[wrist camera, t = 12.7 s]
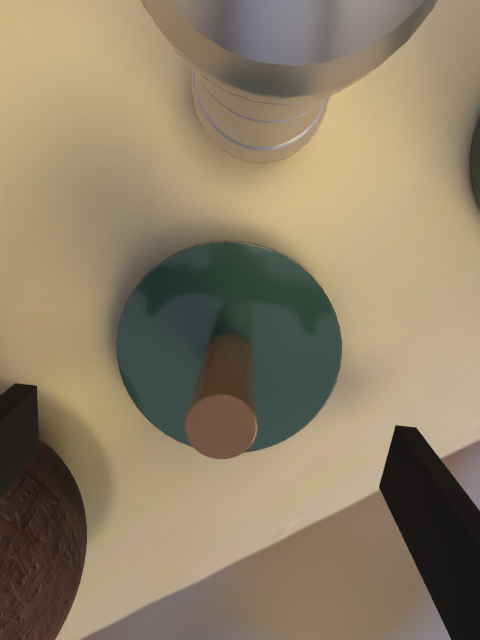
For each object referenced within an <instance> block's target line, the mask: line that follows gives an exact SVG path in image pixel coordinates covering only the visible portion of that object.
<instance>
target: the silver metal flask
mask: <svg viewBox="0 0 480 640" xmlns="http://www.w3.org/2000/svg"><path fill="white" fill-rule="evenodd" d="M141 2H142V4H143V6H144V8H145V9H146V10H147V12H148V13H149V15H150V16H151V18H152V19H153V21H154V23H155V24H156V26H157V27H158V28H159V30H160V31H161V32H162V34H163V35H164V36H165V38H166V39H167V40H168V42H169V43H170V45H171V46H172V47H173V49H174V50H175V51H176V53H177V54H178V55H179V56H181V57H182V58H183V59H184V60H185V61H186V62H187V63H188V64H189V65H190V66H191V89H192V96H193V103H194V106H195V109H196V112H197V116H198V118H199V120H200V122H201V124H202V126H203V128H204V130H205V131H206V132H207V134H208V135H209V136H210V138H211V139H212V140H213V141H214V142H215V143H216V144H217V145H218V146H219V147H220V148H221V149H222V150H224V151H225V152H227V153H229V154H230V155H232V156H234V157H235V158H238V159H241V160H244V161H247V162H253V163H269V162H275V161H278V160H282V159H285V158H287V157H289V156H290V155H292V154H294V153H296V152H297V151H299V150H300V149H301V148H302V147H303V146H304V145H305V144H306V143H308V142H309V140H310V139H311V138H312V136H313V135H314V134H315V132H316V131H317V129H318V127H319V125H320V123H321V121H322V119H323V117H324V114H325V111H326V108H327V105H328V101H329V98H330V96H331V95H333V94H335V93H338V92H340V91H342V90H343V89H345V88H347V87H348V86H350V85H352V84H353V83H355V82H357V81H359V80H360V79H362V78H364V77H365V76H367V75H368V74H369V73H370V72H372V71H373V70H374V69H376V68H377V67H378V66H380V65H381V64H382V63H383V62H384V61H386V60H387V59H388V58H389V57H390V56H391V55H392V54H393V53H395V52H396V51H397V50H398V49H399V48H400V47H401V46H402V45H403V44H405V43H406V42H407V41H408V40H409V39H410V37H411V36H412V35H413V34H414V32H415V31H416V30H417V28H418V27H419V26H420V25H421V23H422V22H423V21H424V19H425V18H426V17H427V16H428V14H429V13H430V12H431V11H432V9H433V8H434V6H435V4H436V2H437V0H141Z"/></svg>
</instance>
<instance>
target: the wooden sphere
mask: <svg viewBox="0 0 480 640" xmlns="http://www.w3.org/2000/svg"><path fill="white" fill-rule="evenodd" d="M86 544H87V526H86V516H85V510H84V505H83V501H82V497H81V494H80V491H79V489H78V486H77V484H76V482H75V479H74V477H73V476H72V474H71V472H70V470H69V469H68V467H67V466H66V464H65V463H64V462H63V460H62V459H61V458H60V457H59V456H58V455H57V453H56V452H55V451H54V450H53V449H52V448H50V447H49V446H48V445H47V444H46V443H45V442H43V441H42V440H40V439H39V452H38V453H37V454H36V456H35V457H34V458H33V459H32V461H31V462H30V463H29V464H28V465H27V467H26V468H25V469H24V470H23V472H22V473H21V474H20V475H19V477H18V478H17V479H16V480H15V481H14V483H13V484H12V485H11V486H10V488H9V489H8V490H7V491H6V492H5V494H4V495H3V496H2V497H1V499H0V640H55V639H56V637H57V635H58V634H59V632H60V630H61V628H62V626H63V624H64V622H65V620H66V618H67V616H68V614H69V611H70V609H71V607H72V604H73V602H74V599H75V596H76V594H77V590H78V587H79V584H80V580H81V576H82V572H83V567H84V562H85V555H86Z"/></svg>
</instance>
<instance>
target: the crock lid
mask: <svg viewBox="0 0 480 640" xmlns="http://www.w3.org/2000/svg"><path fill="white" fill-rule="evenodd" d="M341 357H342V340H341V333H340V327H339V323H338V320H337V317H336V313H335V311H334V309H333V307H332V304H331V302H330V300H329V299H328V297H327V295H326V294H325V292H324V291H323V289H322V288H321V286H320V285H319V284H318V283H317V282H316V281H315V279H314V278H313V277H312V276H311V275H310V274H309V273H308V272H307V271H306V270H304V269H303V268H302V267H301V266H300V265H299V264H297V263H296V262H294V261H293V260H291V259H290V258H288V257H287V256H285V255H283V254H281V253H279V252H277V251H275V250H273V249H270V248H267V247H264V246H261V245H258V244H252V243H247V242H240V241H217V242H209V243H204V244H200V245H195V246H193V247H190V248H187V249H184V250H182V251H180V252H178V253H176V254H174V255H172V256H170V257H168V258H167V259H165V260H164V261H162V262H161V263H160V264H158V265H157V266H155V267H154V268H153V269H152V270H151V271H150V272H149V273H148V274H147V275H146V276H145V277H144V278H143V279H142V280H141V281H140V283H139V284H138V285H137V286H136V288H135V289H134V290H133V292H132V294H131V296H130V297H129V299H128V301H127V303H126V305H125V308H124V310H123V312H122V315H121V319H120V323H119V327H118V334H117V359H118V364H119V370H120V373H121V376H122V379H123V383H124V385H125V387H126V389H127V391H128V393H129V396H130V397H131V399H132V400H133V402H134V403H135V405H136V406H137V408H138V409H139V410H140V411H141V413H142V414H143V415H144V416H145V417H146V418H147V419H148V420H149V421H150V422H151V423H152V424H153V425H154V426H155V427H157V428H158V429H159V430H161V431H162V432H164V433H165V434H166V435H168V436H170V437H172V438H173V439H175V440H177V441H179V442H181V443H184V444H186V445H188V446H191V447H193V448H195V449H196V450H197V451H198V452H199V453H201V454H203V455H205V456H207V457H211V458H215V459H228V458H233V457H236V456H238V455H240V454H242V453H245V452H251V451H256V450H260V449H264V448H267V447H270V446H273V445H275V444H278V443H280V442H282V441H284V440H286V439H288V438H289V437H291V436H293V435H295V434H296V433H297V432H299V431H300V430H301V429H303V428H304V427H305V426H306V425H307V424H308V423H309V422H310V421H312V420H313V419H314V418H315V417H316V415H317V414H318V413H319V412H320V410H321V409H322V408H323V407H324V405H325V403H326V402H327V400H328V398H329V397H330V395H331V393H332V391H333V388H334V386H335V384H336V381H337V377H338V374H339V370H340V364H341Z"/></svg>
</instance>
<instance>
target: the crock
mask: <svg viewBox="0 0 480 640" xmlns="http://www.w3.org/2000/svg"><path fill="white" fill-rule="evenodd" d="M470 165H471V180H472V186H473V191H474V195H475V198H476V201H477V204H478V207H479V209H480V116H479V119H478V122H477V125H476V128H475V132H474V137H473V142H472V148H471V161H470Z"/></svg>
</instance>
